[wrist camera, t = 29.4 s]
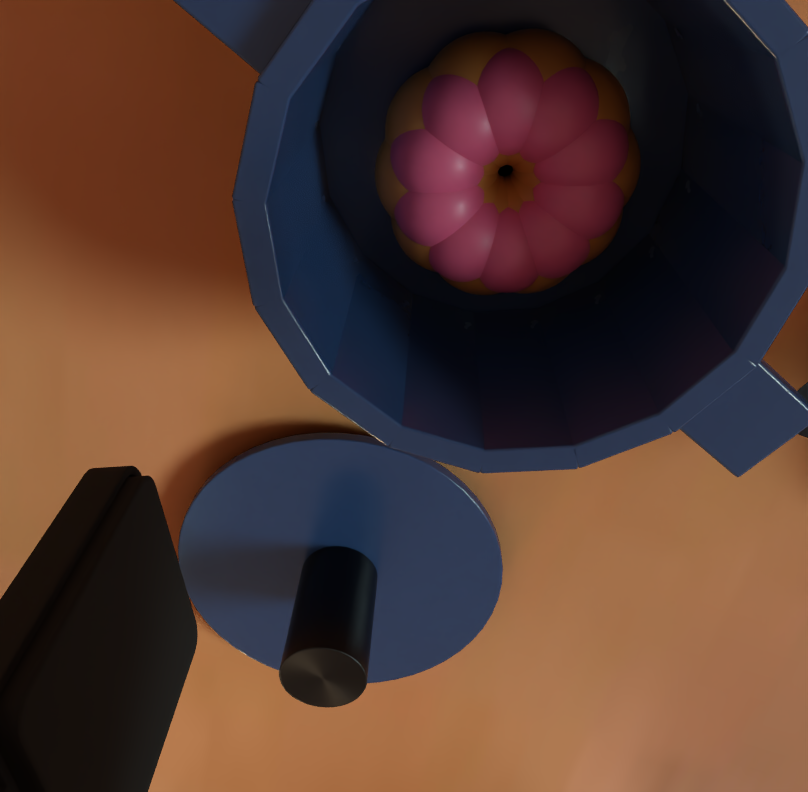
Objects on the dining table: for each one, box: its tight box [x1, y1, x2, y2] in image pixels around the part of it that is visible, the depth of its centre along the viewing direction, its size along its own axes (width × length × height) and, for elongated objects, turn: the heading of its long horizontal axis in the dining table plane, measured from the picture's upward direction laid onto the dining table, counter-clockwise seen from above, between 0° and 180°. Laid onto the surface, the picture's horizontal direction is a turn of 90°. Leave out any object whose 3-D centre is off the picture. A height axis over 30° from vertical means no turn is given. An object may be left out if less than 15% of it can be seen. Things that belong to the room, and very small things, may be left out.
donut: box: [375, 29, 641, 295], centre depth 21 cm, size 7×7×4 cm
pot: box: [173, 0, 808, 477], centre depth 19 cm, size 12×17×8 cm
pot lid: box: [178, 433, 503, 707], centre depth 29 cm, size 13×13×6 cm
